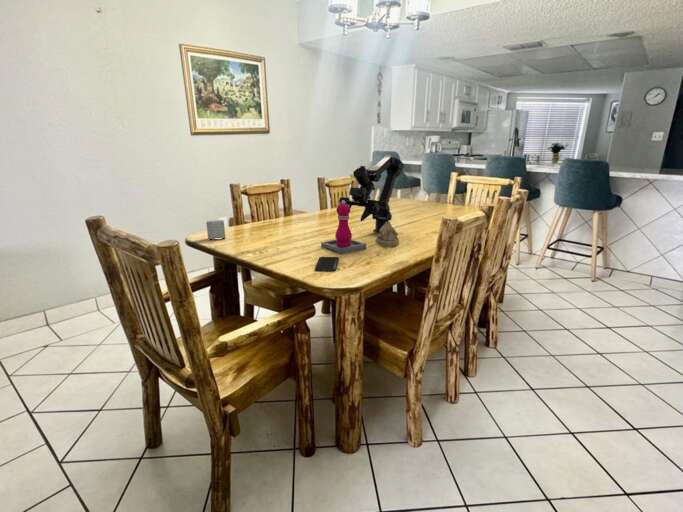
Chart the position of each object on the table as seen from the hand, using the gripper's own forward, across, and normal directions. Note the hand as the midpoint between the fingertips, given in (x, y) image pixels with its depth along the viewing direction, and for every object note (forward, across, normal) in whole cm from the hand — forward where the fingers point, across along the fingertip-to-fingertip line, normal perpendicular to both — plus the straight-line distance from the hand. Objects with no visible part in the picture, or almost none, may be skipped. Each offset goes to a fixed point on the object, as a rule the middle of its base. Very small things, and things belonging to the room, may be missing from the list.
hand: (352, 219), depth 161 cm
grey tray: (+13, 0, +3) cm, 13 cm away
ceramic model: (0, +13, +17) cm, 21 cm away
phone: (+29, +7, -13) cm, 33 cm away
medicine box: (+27, -60, -11) cm, 66 cm away
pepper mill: (+12, 0, +3) cm, 13 cm away
